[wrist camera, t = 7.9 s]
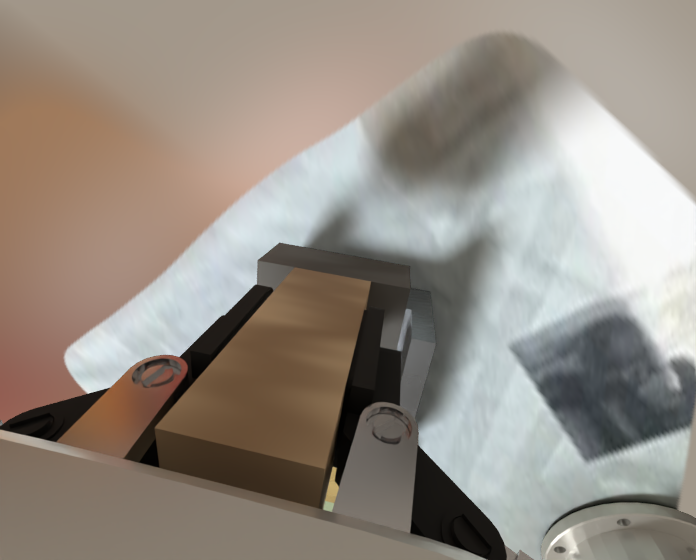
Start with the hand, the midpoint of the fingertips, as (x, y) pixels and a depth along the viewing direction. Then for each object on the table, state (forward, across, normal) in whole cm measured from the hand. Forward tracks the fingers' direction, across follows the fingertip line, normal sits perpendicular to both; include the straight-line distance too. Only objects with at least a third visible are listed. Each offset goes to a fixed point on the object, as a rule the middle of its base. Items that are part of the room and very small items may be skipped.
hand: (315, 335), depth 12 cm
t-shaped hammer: (+5, 0, 0) cm, 5 cm away
